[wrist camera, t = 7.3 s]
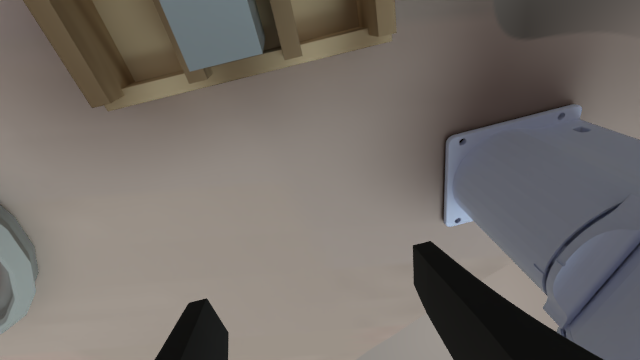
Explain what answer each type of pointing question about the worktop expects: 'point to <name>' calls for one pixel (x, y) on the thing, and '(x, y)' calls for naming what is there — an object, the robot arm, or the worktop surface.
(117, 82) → the rack
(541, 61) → the worktop surface
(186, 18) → the upright pale blue slab
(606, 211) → the robot arm
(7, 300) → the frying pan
